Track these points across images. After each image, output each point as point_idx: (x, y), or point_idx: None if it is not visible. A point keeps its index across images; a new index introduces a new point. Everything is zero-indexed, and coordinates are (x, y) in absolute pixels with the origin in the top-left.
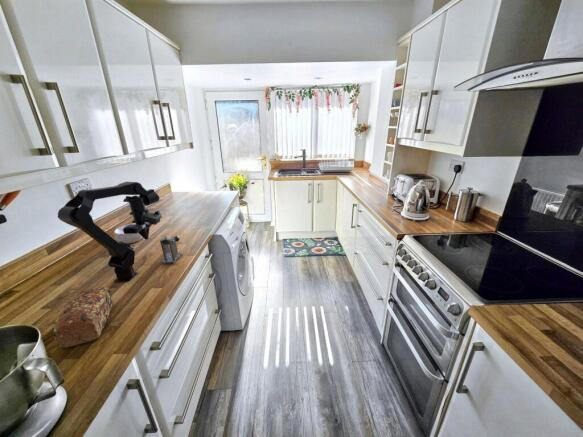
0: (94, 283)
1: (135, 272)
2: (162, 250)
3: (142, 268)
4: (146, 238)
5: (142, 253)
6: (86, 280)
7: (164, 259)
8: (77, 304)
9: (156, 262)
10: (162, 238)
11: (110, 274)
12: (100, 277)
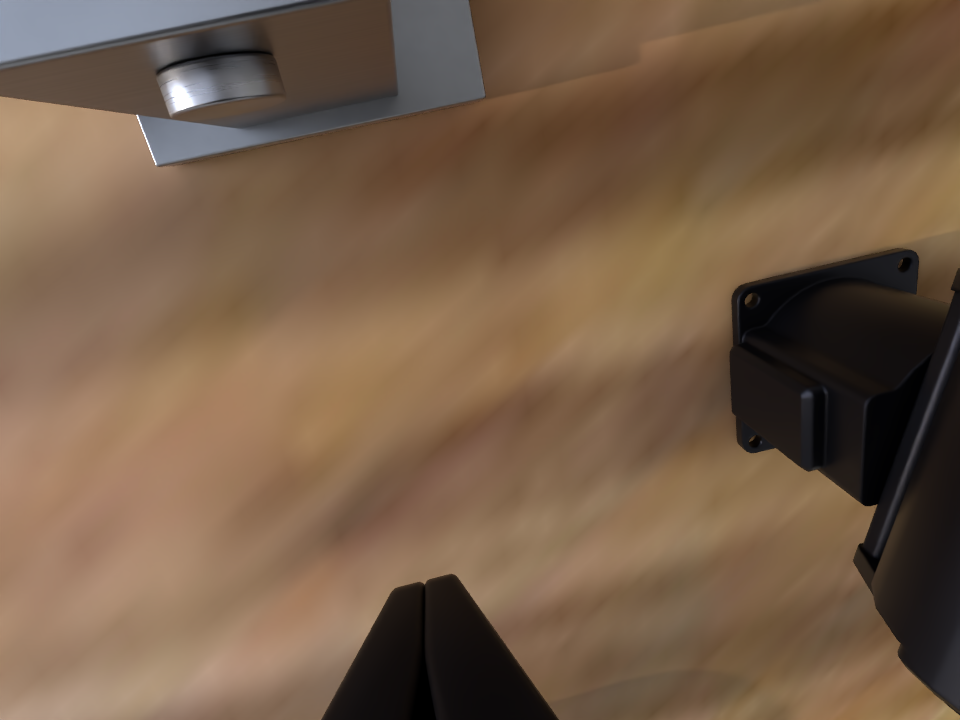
0: None
1: (746, 311)
2: (395, 66)
3: (619, 319)
4: (475, 613)
5: (283, 620)
6: (846, 668)
7: (393, 107)
8: None
9: (446, 241)
10: (155, 16)
11: (755, 565)
12: (805, 604)
